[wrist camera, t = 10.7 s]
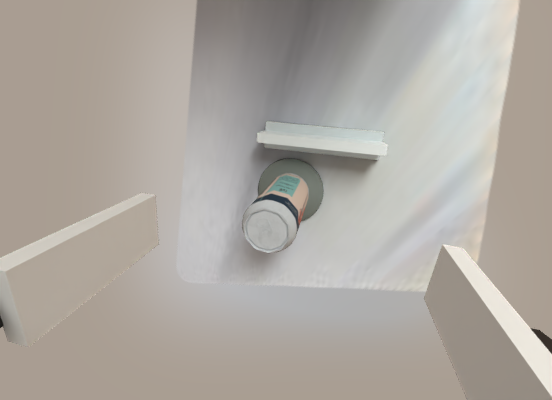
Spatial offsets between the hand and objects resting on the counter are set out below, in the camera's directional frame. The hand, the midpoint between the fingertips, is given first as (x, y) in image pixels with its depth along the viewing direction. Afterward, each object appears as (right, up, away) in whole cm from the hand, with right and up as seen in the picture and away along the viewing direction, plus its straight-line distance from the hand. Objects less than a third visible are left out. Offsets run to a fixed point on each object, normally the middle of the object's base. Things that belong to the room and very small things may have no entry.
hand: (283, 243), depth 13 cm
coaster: (+1, +3, +21) cm, 22 cm away
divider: (+5, +9, +19) cm, 21 cm away
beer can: (+1, +3, +21) cm, 21 cm away
